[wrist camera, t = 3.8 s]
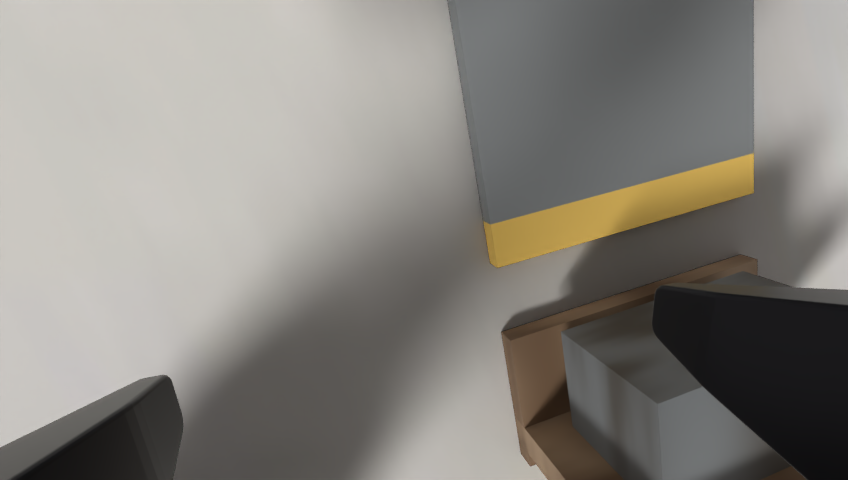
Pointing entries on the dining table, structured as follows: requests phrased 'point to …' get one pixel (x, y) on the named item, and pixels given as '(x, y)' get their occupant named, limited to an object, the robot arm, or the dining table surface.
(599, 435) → the mounted unit
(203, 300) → the dining table surface
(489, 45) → the pad
